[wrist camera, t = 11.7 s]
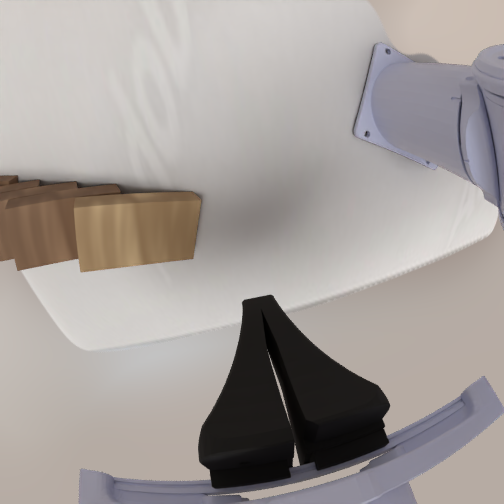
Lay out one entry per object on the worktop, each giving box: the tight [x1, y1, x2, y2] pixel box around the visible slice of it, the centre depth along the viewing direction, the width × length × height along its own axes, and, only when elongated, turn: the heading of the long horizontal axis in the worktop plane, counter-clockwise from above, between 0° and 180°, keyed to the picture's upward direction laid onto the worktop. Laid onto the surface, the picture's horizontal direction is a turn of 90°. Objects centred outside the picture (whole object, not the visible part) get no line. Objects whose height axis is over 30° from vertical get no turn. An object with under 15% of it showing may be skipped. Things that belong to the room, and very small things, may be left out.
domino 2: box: [5, 184, 121, 271], centre depth 15 cm, size 2×4×8 cm
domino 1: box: [74, 192, 201, 272], centre depth 17 cm, size 2×4×8 cm
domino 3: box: [0, 182, 78, 261], centre depth 14 cm, size 2×4×8 cm
